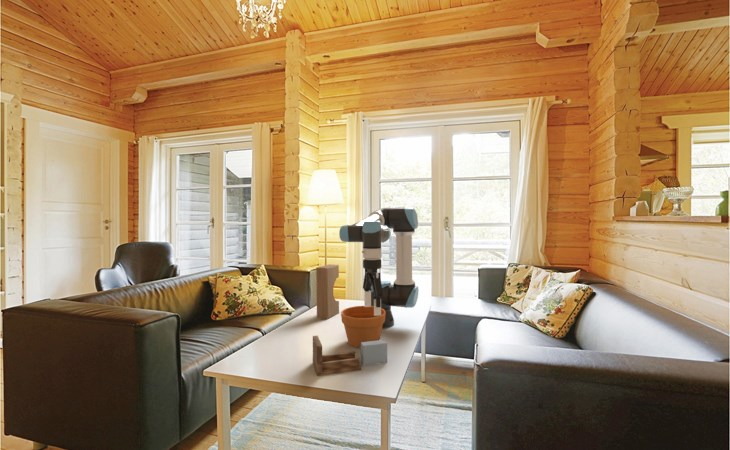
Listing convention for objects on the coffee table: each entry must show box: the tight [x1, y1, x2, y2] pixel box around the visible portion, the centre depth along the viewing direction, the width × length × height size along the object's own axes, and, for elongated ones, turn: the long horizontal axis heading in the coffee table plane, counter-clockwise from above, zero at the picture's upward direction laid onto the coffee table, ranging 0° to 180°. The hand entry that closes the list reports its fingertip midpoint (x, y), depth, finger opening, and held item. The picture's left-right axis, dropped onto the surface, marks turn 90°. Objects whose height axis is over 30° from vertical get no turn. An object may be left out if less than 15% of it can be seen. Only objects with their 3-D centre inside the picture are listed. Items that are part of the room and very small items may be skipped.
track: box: [312, 335, 362, 377], centre depth 134 cm, size 17×12×11 cm
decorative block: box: [315, 264, 340, 320], centre depth 206 cm, size 15×8×30 cm, turn 157°
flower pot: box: [340, 305, 386, 349], centre depth 160 cm, size 21×21×15 cm
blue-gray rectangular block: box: [360, 339, 388, 367], centre depth 138 cm, size 10×4×8 cm, turn 106°
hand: (372, 310), depth 138 cm, fingers open, 13 cm apart
